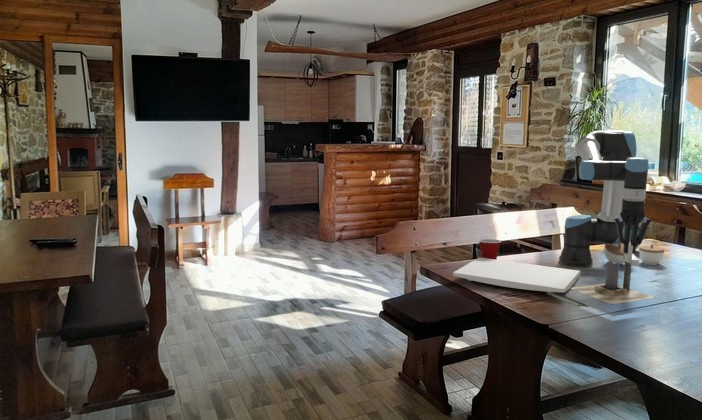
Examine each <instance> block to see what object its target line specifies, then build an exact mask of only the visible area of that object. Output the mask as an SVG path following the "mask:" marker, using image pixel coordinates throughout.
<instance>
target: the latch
mask: <svg viewBox="0 0 702 420" xmlns="http://www.w3.org/2000/svg"><path fill="white" fill-rule="evenodd" d="M625 254H626V253H624V259H625ZM639 261H640V259H639V258H638V257H637V256H636V255H635V253H634V254H632V259H631V263H629V264H630V265H631V267H639V266H640V265H639Z"/></svg>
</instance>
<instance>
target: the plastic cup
mask: <svg viewBox="0 0 702 420" xmlns="http://www.w3.org/2000/svg"><path fill="white" fill-rule="evenodd" d="M478 242H479V247H480V253H481V258H487V259H495V260H498V253H499V250H500V246H501V243H502V240H500V239H493V238H492V239H487V238H483V239H478Z"/></svg>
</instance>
